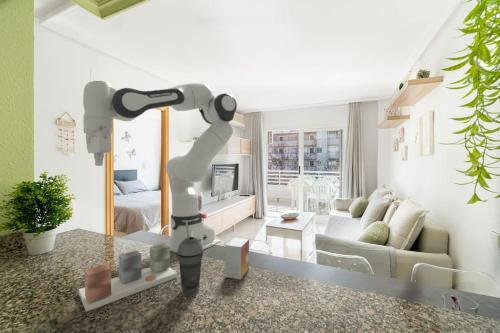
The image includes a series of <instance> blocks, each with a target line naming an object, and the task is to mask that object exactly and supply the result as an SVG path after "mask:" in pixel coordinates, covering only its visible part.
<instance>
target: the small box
mask: <svg viewBox="0 0 500 333" xmlns="http://www.w3.org/2000/svg"><path fill="white" fill-rule="evenodd" d="M224 246H225V251H224V252H225V254H224V255H225V262H224V264H225V265H224V266H225V268H224V270H225V271H224V273H225V274H224V276H225V278H230V279H235V280H242V279H243V277H244V276H245V275H246V273H247V272H249V269H250V268H249V267H250V239H249V238H241V237H234V238H233V239H231V241H229V242H228V243H227V244H225V245H224Z"/></svg>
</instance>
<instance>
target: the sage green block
mask: <svg viewBox="0 0 500 333" xmlns="http://www.w3.org/2000/svg"><path fill="white" fill-rule="evenodd" d="M149 267H150V269H151V270H152V271H153V272H158V271H161V270H164V269H167V268H171V250H170V246H169V244H167V243H161V244H157V245H153V246H149Z"/></svg>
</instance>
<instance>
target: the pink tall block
mask: <svg viewBox="0 0 500 333" xmlns="http://www.w3.org/2000/svg"><path fill="white" fill-rule="evenodd" d="M111 279H112V268H111V266H110V265H109V264H108V263H104V264H100V265H97V266H93V267H90V268H85V269H84V287H85V296H86V299H87V301H88V303H90V302H92V301H95V300H98V299H101V298H104V297H106V296H109V295H111Z"/></svg>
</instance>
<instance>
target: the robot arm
mask: <svg viewBox="0 0 500 333" xmlns="http://www.w3.org/2000/svg"><path fill="white" fill-rule="evenodd" d="M83 88H84V89H83V93H82V94H83V95H82V96H83V97H82V98H83V99H82V100H83V101H82V103H83V104H82V106H83V109H84V114H83V119H82V120H83V121H82V122H83V124H82V125H83V133H84V134H85V142H86V149H87V153H88V154H93V159H94V163H95V164H94V165H95V166H97V167H101V166H104V165H103V164H104V163H103V162H104V156H105V154H107V153H108V154H109V153H111V152H112V134H113V133H114V125H113V124H114V123H113V120H114V119H115V120H118V121H122V122H132V121H133V120H135V119H137V117H140V116H141V115H142V114H144V113H145V112H147V111H149V110H153V109H160V108H164V107H165V108H167V107H171V108H172V109H173V110H175V111H176V112H185V111H192V110H196V109H198V110H199V113H200V115H201V117H202V119H203V120H204V122H205V123H207V124H208V125H209V127H208V128H207V129H205V130H204V132H202V133H201V134H200V136H198V137H197V139H196V140H195V141H194V142H193V144H192V146H191V148H190V150H189V151H188V153H187V154H185V155H183V156H180V155H179V156H175V157H173V158H171V159H169V160H168V162H166V164H165V172H166V174H167V177H168V183H169V187H170V194H171V215H170V229H171V230H170V238H169V243H168V246H170V252H174V253H177V252H178V247H179V245H180V243H181V242H182V241H183V240H184V239H186V238H187V230H186V222H187V223H188V232H189V237H195V238H197V239H198V240H199V241H200V242H201V244H202V247H203V251H205V250H206V249H208V248H211V247H213V246H215V245H218V244H219V243H221V239H220V238H219V237H217V236H216V234H215V230H214V227H212V226H211V225H209V224H208V223H207V222H205V221H204V220H203V219H206V218H207V214H206V213H201V212H200V210H199V205H200V204H199V194H198V191H197V189H196V186H195V183H199V182H201V181H203V180H204V179H205V178H206V177H207V175H208V172H209V170H208V168H209V166H210V164H211V162H212V160H214V158H215V157H216V156H217V155H218V154H219V152H220V151H221V150H222V149H223V148H224V147H225V146H226V145H227V143H228V142H229V140H230V139H231V137H232V136H233V134H234V128H233V127H232V125H231V123H230V122H231V121H233V120H234V118H235V117H234V116H235V114H236V111H237V105H238V103H237V101H236V98H235V97H234V96H233V95H232V94H229V93H221V94H218V95H217V96H216V97H215V95H213V92H212V89H211V88H210V86H209V85H207V84H205V83H185V84H179V85H176V86H173V87H169V88H166V89H165V88H163V89H155V90H154V89H153V90H147V91H146V90H139V89H134V88H130V87H123V88H120V89H117V88H115V87H114V86H112V85H111V84H110V82H106V81H102V80H94V81H90V82H88V83H86V84H85V86H84V87H83Z"/></svg>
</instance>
